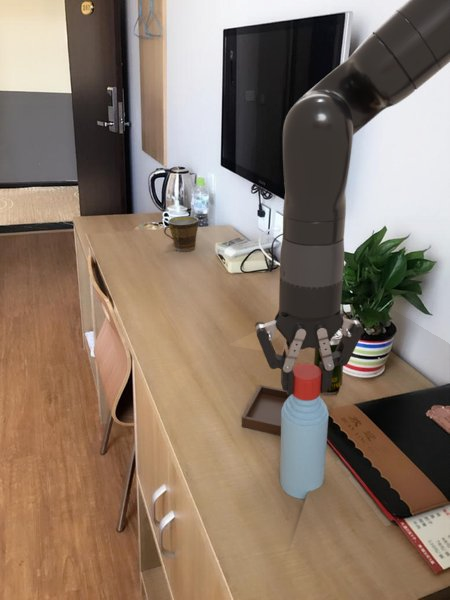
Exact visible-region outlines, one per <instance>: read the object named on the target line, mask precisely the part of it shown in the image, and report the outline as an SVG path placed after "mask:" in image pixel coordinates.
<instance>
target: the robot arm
mask: <svg viewBox="0 0 450 600" xmlns="http://www.w3.org/2000/svg"><path fill="white" fill-rule="evenodd" d="M449 63H450V0H406V1H405V2H404V3H403V4H402V5H400V6H399V7H398V8H397V9H396V10H395V11H394V12H393V13H392V14H390V15H389V16H388V17H387V18H386V19H385V20H384V21H383V22H382V23H381V24H380V25H379V26H377V27H376V28H375V29H374V30H373V31H372V33H370V34H369V35H368V36H367V37H366V38H365V39H364V40H362V42H361V43H360V44H359V46H357V48H356V49H355V50H354V51H353V52H352V54H351V55H350V56H348V58H347V59H346V60H344V61H343V62H341V63H340V64H338V66H337V67H336V68H334V69H333V70H332V71H331V72H330V73H328V74H327V75H326V76H324V78H322V79H321V80H320V81H319V82H318V83H316V84H314V86H313V87H312V88H310V89H309V90H308V91H306V92H305V93H304V94H303V95H302V96H301V97H300V98H299V99H298V100H297V101H296V102H295V103H294V104H293V106H292V107H290V110H288V113H287V114H286V116H285V119H284V122H283V129H282V165H283V181H284V182H283V183H284V192H285V193H284V199H283V208H282V239H281V245H280V251H279V253H280V254H279V288H278V289H279V290H278V291H279V294H278V311H277V314H276V315H275V317H274V320H270V321H268V322H265V323H264V322H263V321H258V322H256V323H255V325H254V328H255V333H256V337H257V340H258V342H259V344H260V348H261V350H262V352H263V354H264V357H265V360H266V361H267V364H268V366H269V368H270V369H272V370H275V369H280V384H281V389H283V390H284V391H287V395H291V394H293V381H294V371H293V367H294V366H295V363H296V362H295V361H296V360H297V359H298V357H299V354H300V352H301V351H300V350H305V349H308V348H309V349H314V350H315V349H319V351H320V356H321V359H322V362H319V368H320V369H321V372H322V375H321V377H322V378H321V393H327V389H330V388H331V386H332V374H333V369H334V367H336V366H338V365H341V366H343V367H344V366H346V365H348V364H349V361H350V360H351V358H352V356H353V354H354V351H355V350H356V347H357V345H358V343H359V341H360V339H361V337H362V335H363V333H364V332H365V331H364V330H365V329H364V327H363V326H362V323H361V322H360V321H359V319H358V317H351V318H346V317H344V316H343V315H342V312H341V309H342V308H341V307H342V296H343V283H344V273H345V271H346V269H345V268H346V265H345V259H346V258H345V257H346V255H345V254H346V253H345V229H346V227H345V226H346V215H347V197H346V191H347V190H346V188H347V183H348V177H349V171H350V165H351V157H352V147H353V140H354V139H353V138H354V136H355V134H356V133H358V132H359V131H360V130H361V129H362V128H364V127H365V126H366V125H367V124H368V123H370V122H371V121H372V120H374V118H375V117H377V116H378V115H379V114H380V113H382V112H383V111H384V110H386V109H388V108H391V107H393V106H396V105H398V104H399V103H401V102H403V101H404V100H405V99H407V98H408V97H409V96H411V95H412V94H413V93H415V91H417V90H418V89H419V88H420V87H422V86H423V85H424V84H426V83H427V82H428V81H429V80H430V79H431V78H432V77H433V76H435V75H436V74H438V72H440V71H441V70H442V69H443V68H445V67H446V66H447V65H448V64H449ZM339 329H342V332H343V335H342V337H341V339H340V341H339V344H338V346H337V348H336V350H335V352H333V353H331V348H330V344H329V341H330V340H331V338H332V337H333V336H334V335H335V334H336V333H337V332H338V330H339ZM277 330H278V332H279V333H280V334H281V335H282V336H283V337H284V343H283V349H282V351H281V354H278V353H276V350H275V348H274V345H273V343H272V341H273V340H274V338H275V332H276V331H277ZM321 393H320V394H321Z"/></svg>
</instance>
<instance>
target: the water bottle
mask: <svg viewBox="0 0 450 600" xmlns="http://www.w3.org/2000/svg"><path fill="white" fill-rule="evenodd" d="M328 427H329V410H328V406H327V404H326V403H325V401H324V400H323V398H321V396H320V395H319V397H318V398H316V399H314V400H300V399H298V398H296V397H294V396H293V395H292V394H291V395H290V396H289V397H288V399H287V400H286V401H285V402H284V405H283V407H282V410H281V436H280V459H279V460H280V461H279V484H280V487H281V488H282V490H283V492H285V494H286V495H288V496H290V497H292V498H295V499H300V500H306V499H307V496H308V492H312V491H315V490H318V488H320V487H321V486H322V485H323V484H324V481H325V472H326V471H325V470H326V469H325V468H326V456H327V455H326V454H327V442H328Z"/></svg>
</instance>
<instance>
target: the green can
mask: <svg viewBox="0 0 450 600" xmlns="http://www.w3.org/2000/svg"><path fill="white" fill-rule="evenodd" d="M342 335H343V332H342V328H340V329H339V330H338V332H337V333H336V334H335V335H334V336H333V337H332V338H331V340H330V341H329V344H330V348H331V353H333V352H335V350H336V348H337V346H338V344H339V341H340V339H341V337H342ZM313 360H314V361H313V365H315V366H317V367H319V362H322V359H321V356H320V351H319V349H315V348H314V358H313ZM343 375H344V366H341V365H338V366H336V367H334V369H333V374H332V386H331V388H330V389H327V393H321V392H320V395H325V396H334V395H336V394H338V393H339V392H340V388H341V386H342V385H343Z"/></svg>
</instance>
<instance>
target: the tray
mask: <svg viewBox="0 0 450 600" xmlns="http://www.w3.org/2000/svg"><path fill="white" fill-rule="evenodd" d="M289 396H290V395H287V391H284V390H283V388H278V387H273V386H268V385H263V384H259V385H258V387H257V389H256V391H255V393H254V395H253V396H252V398H251V400H250V401H249V404H248V405H247V407H246V409H245V410H244V412H243V414H242V416H241V427H242V428H246V429H249V430H253V431H257V432H263V433H268V434H272V435H276V436H280V437H281V410H282V407H283V405H284V402H285V401H286V400H287V399H288V397H289Z"/></svg>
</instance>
